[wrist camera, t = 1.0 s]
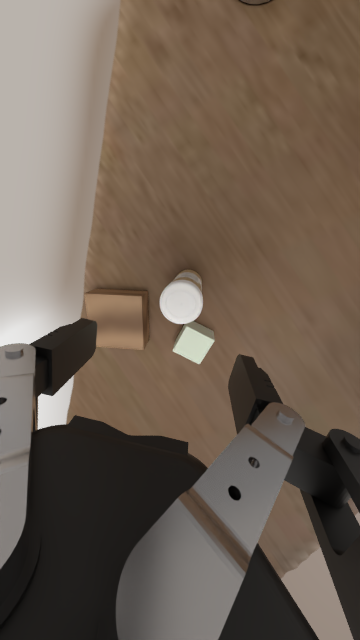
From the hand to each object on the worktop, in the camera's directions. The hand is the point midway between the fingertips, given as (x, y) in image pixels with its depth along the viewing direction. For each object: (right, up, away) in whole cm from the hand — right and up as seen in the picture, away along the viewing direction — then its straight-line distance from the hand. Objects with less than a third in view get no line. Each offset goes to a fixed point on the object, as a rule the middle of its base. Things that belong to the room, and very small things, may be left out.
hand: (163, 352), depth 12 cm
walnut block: (-9, +3, +25) cm, 27 cm away
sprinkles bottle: (+2, +8, +22) cm, 24 cm away
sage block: (+3, -1, +25) cm, 26 cm away
